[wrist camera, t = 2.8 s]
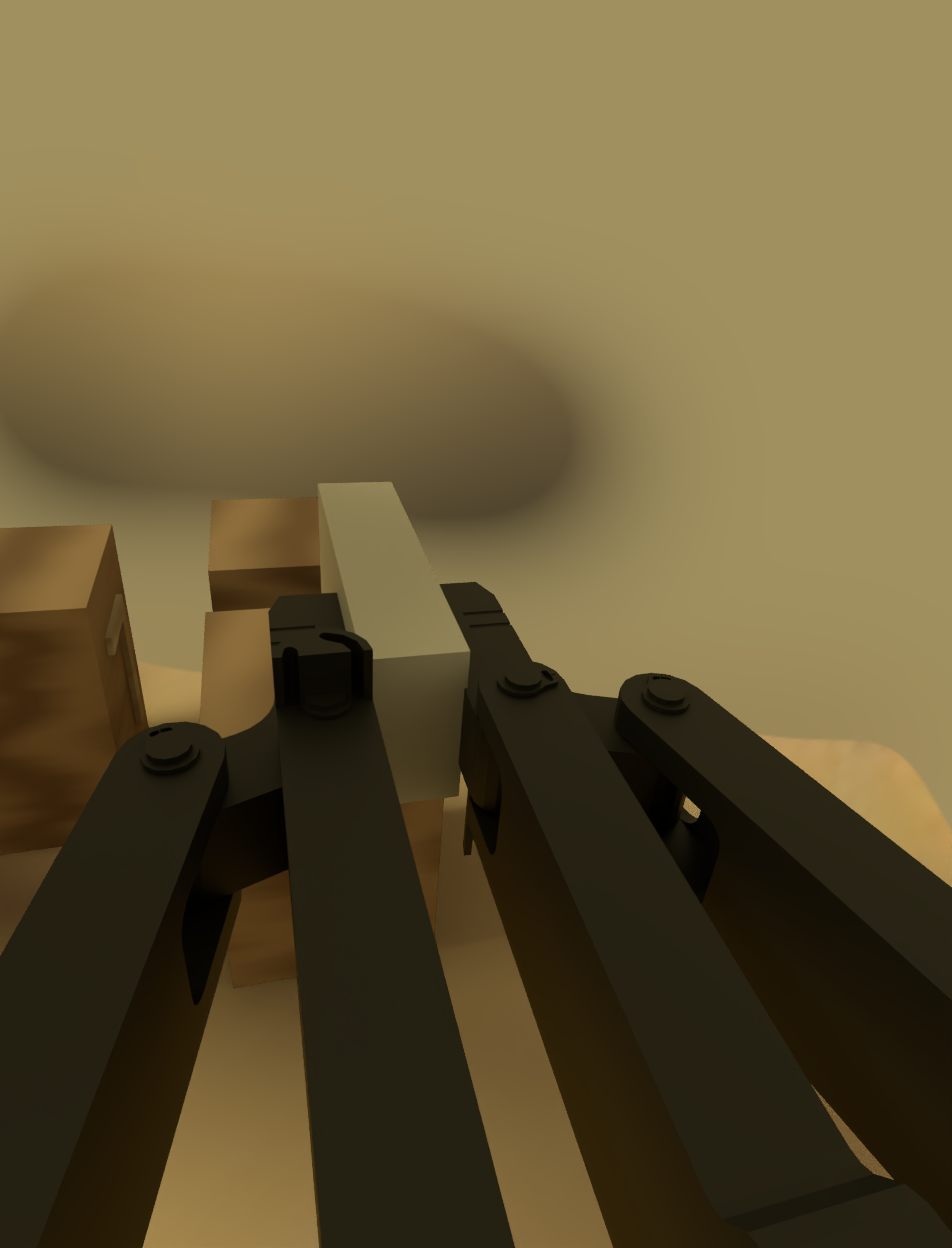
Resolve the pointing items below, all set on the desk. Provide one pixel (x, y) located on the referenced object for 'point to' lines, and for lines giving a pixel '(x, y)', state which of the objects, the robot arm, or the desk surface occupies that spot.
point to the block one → (263, 551)
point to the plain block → (233, 705)
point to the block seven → (61, 678)
